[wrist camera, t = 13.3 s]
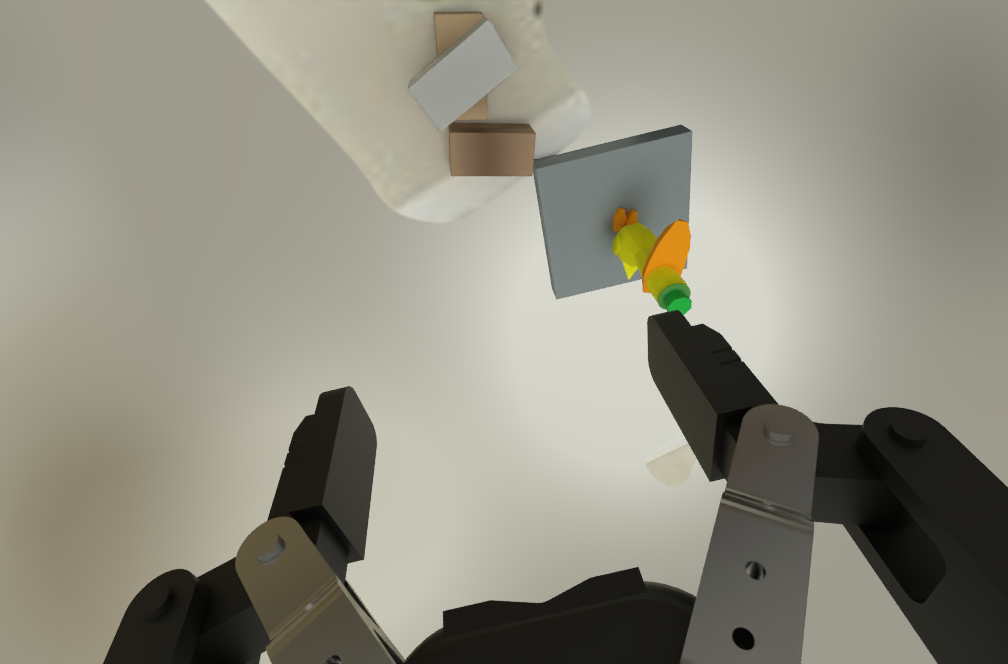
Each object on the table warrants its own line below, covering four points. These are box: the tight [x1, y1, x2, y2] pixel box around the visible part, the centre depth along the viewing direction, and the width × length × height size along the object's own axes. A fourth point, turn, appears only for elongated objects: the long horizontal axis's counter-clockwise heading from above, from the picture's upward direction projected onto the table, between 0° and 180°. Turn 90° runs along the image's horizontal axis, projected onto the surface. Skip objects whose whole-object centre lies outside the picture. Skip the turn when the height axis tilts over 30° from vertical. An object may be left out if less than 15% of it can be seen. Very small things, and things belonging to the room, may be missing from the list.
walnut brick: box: [449, 123, 536, 176], centre depth 35 cm, size 6×3×3 cm, turn 87°
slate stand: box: [533, 125, 692, 299], centre depth 40 cm, size 12×12×2 cm
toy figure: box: [612, 208, 692, 315], centre depth 35 cm, size 7×4×12 cm, turn 171°
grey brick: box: [408, 17, 518, 132], centre depth 30 cm, size 6×3×3 cm, turn 125°
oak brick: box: [434, 12, 487, 120], centre depth 32 cm, size 6×3×3 cm, turn 0°
